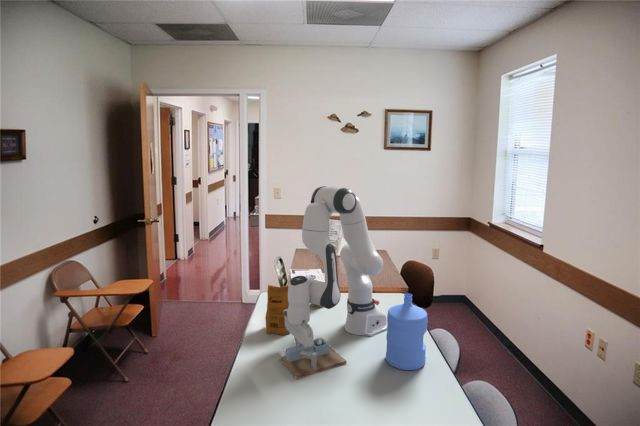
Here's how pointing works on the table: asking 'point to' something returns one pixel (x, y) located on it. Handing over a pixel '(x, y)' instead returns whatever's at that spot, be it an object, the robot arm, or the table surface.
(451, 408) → the table surface
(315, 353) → the pintle keeper
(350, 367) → the table surface
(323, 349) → the link
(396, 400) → the table surface
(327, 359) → the base board
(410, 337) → the water jug
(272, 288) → the coffee package
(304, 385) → the table surface
